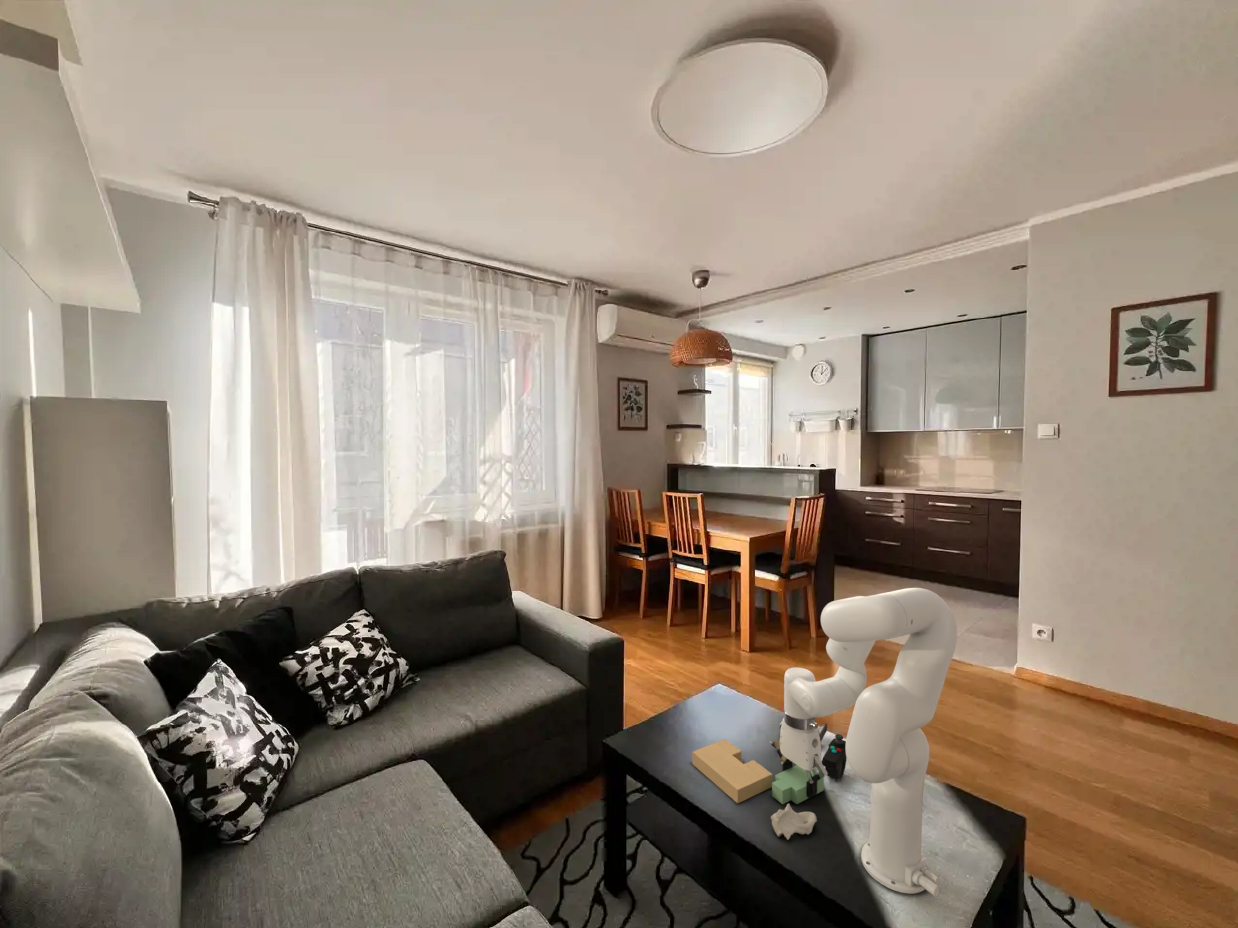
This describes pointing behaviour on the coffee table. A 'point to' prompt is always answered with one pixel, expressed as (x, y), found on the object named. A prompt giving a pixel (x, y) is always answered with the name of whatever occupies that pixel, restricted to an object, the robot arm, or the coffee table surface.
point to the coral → (792, 822)
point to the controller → (835, 758)
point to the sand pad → (731, 770)
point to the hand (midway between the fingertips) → (799, 786)
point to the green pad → (793, 785)
